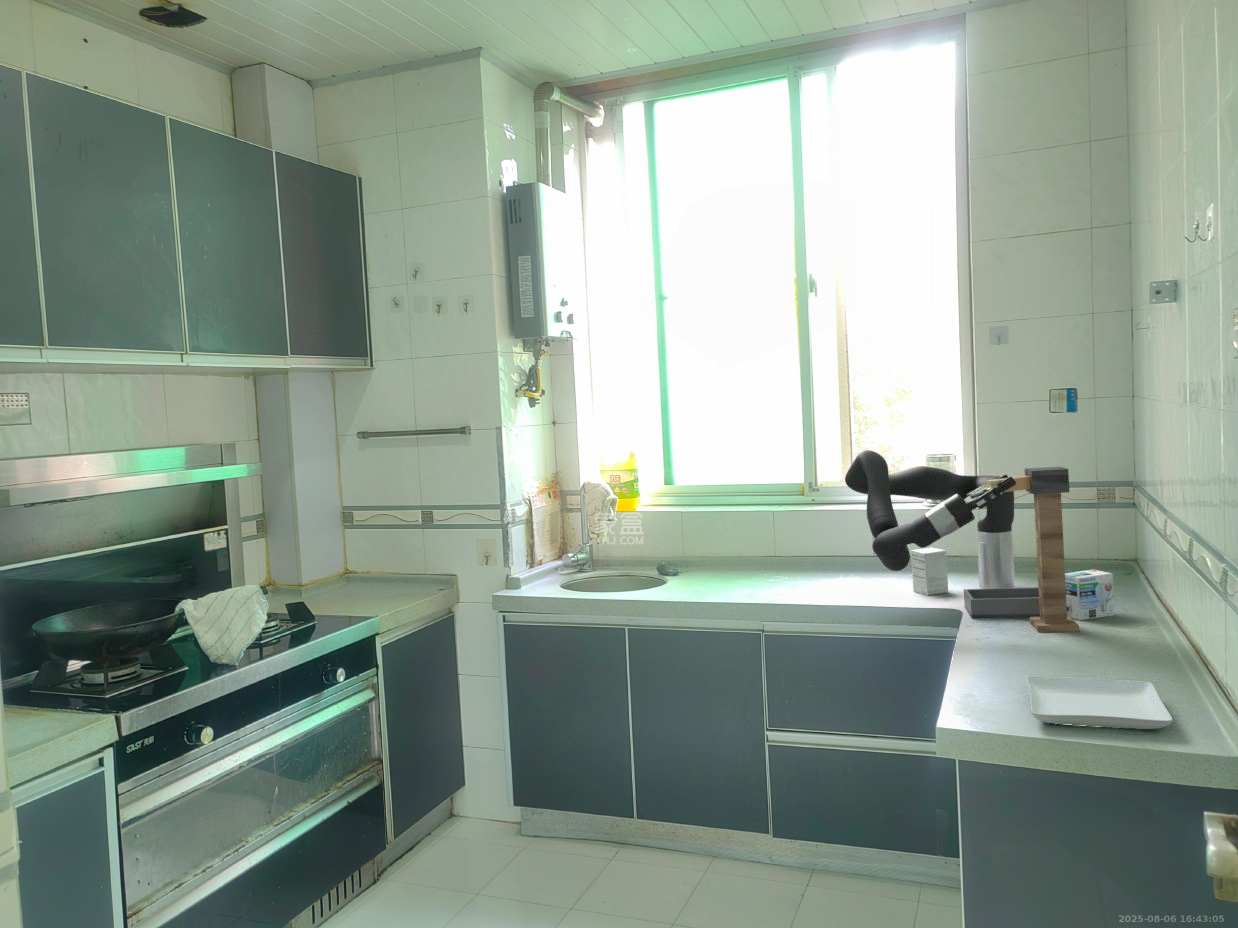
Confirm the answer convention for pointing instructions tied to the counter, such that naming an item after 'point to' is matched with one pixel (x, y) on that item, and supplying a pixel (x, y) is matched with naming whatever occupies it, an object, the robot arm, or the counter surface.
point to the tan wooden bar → (1021, 484)
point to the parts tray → (1002, 603)
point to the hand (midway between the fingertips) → (1010, 478)
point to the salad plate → (1097, 702)
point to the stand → (1050, 548)
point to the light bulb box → (1089, 594)
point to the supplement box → (929, 571)
